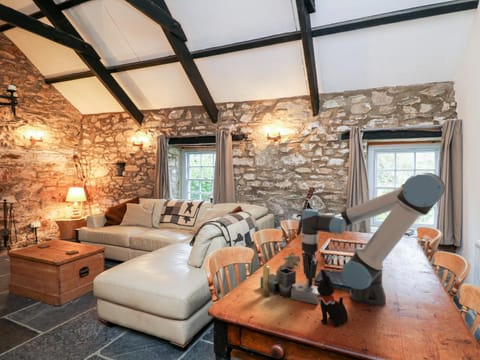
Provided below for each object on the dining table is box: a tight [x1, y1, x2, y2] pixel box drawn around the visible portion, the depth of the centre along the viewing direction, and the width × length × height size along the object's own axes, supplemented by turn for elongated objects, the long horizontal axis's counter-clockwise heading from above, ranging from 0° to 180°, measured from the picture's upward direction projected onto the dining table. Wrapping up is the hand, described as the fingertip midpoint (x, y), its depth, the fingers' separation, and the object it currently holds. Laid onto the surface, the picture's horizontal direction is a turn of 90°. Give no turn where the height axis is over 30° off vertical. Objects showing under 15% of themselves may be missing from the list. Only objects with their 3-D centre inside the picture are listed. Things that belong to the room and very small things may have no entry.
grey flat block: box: [290, 282, 320, 305], centre depth 131 cm, size 12×8×5 cm, turn 66°
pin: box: [262, 264, 270, 298], centre depth 134 cm, size 3×3×14 cm
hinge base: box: [260, 267, 297, 299], centre depth 139 cm, size 17×8×12 cm, turn 37°
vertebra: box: [279, 252, 301, 271], centre depth 171 cm, size 20×11×10 cm, turn 140°
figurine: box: [316, 268, 349, 328], centre depth 111 cm, size 8×13×20 cm, turn 95°
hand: (309, 290), depth 136 cm, fingers closed
